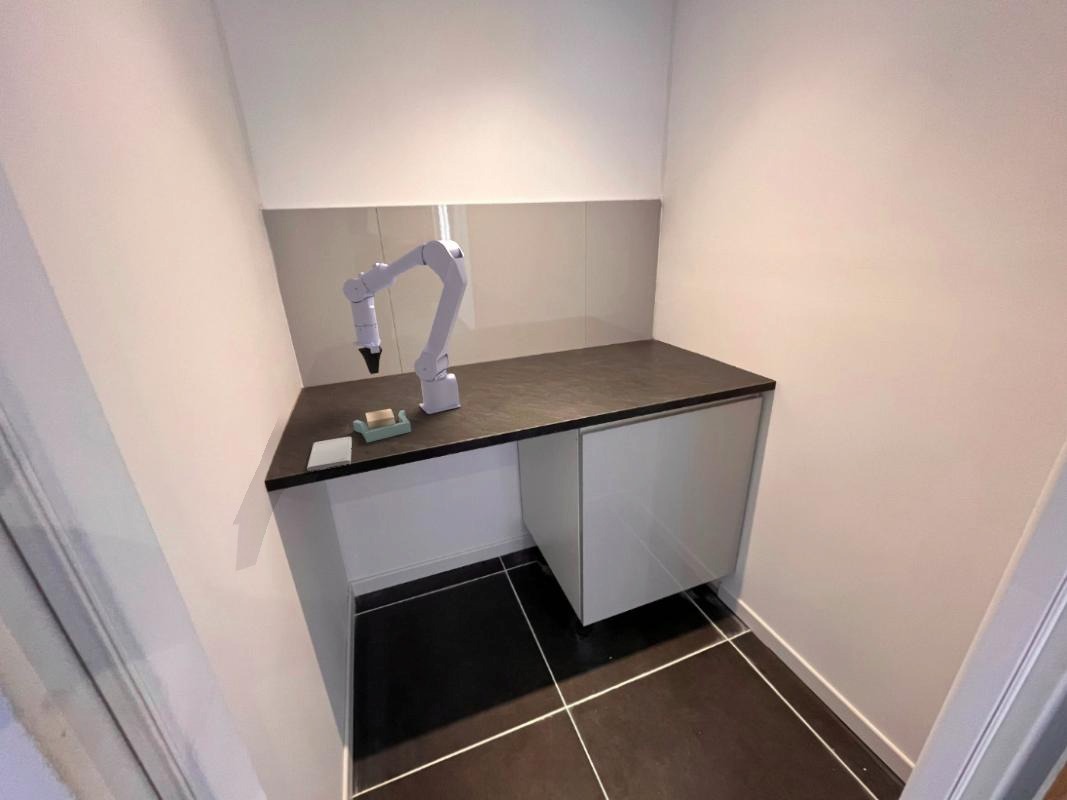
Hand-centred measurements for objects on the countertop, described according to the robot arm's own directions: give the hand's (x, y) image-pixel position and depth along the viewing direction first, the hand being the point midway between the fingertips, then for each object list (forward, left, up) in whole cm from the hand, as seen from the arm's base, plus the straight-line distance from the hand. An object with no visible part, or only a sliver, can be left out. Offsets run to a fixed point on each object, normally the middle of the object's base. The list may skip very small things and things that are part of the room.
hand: (374, 373), depth 117 cm
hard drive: (+16, +25, -10) cm, 32 cm away
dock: (+3, +20, -9) cm, 22 cm away
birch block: (+4, +19, -10) cm, 22 cm away
